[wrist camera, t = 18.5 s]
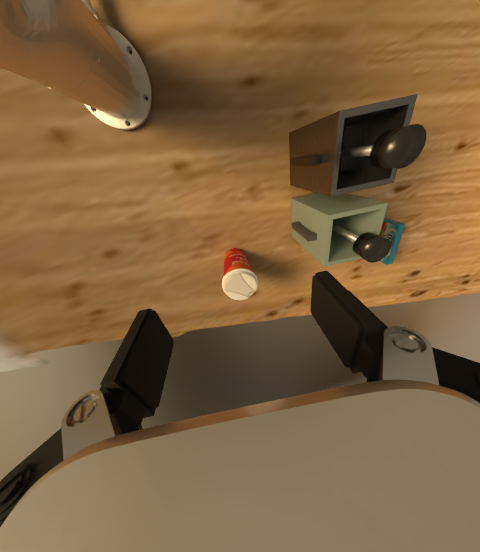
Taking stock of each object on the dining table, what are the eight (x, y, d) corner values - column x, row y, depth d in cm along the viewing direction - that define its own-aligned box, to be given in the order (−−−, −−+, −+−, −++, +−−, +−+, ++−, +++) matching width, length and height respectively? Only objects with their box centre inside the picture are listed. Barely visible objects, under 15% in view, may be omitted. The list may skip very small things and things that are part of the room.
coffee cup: (254, 254, 52) (266, 284, 39) (236, 274, 54) (242, 307, 42) (232, 238, 48) (237, 264, 36) (214, 259, 51) (214, 291, 38)
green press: (283, 199, 44) (318, 217, 29) (329, 189, 44) (388, 202, 29) (285, 236, 50) (314, 268, 34) (325, 228, 49) (373, 255, 34)
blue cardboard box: (376, 254, 57) (392, 263, 51) (371, 255, 57) (387, 265, 51) (385, 218, 50) (405, 224, 45) (380, 219, 50) (399, 225, 45)
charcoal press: (280, 134, 37) (325, 114, 22) (335, 122, 37) (417, 94, 22) (283, 186, 42) (319, 198, 27) (330, 176, 42) (393, 182, 27)
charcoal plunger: (301, 136, 35) (383, 109, 18) (338, 128, 35) (457, 93, 18) (300, 179, 39) (367, 191, 22) (334, 172, 39) (426, 178, 22)
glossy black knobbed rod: (300, 204, 42) (358, 232, 25) (331, 197, 42) (411, 221, 25) (300, 234, 46) (349, 276, 29) (328, 228, 46) (394, 266, 29)
